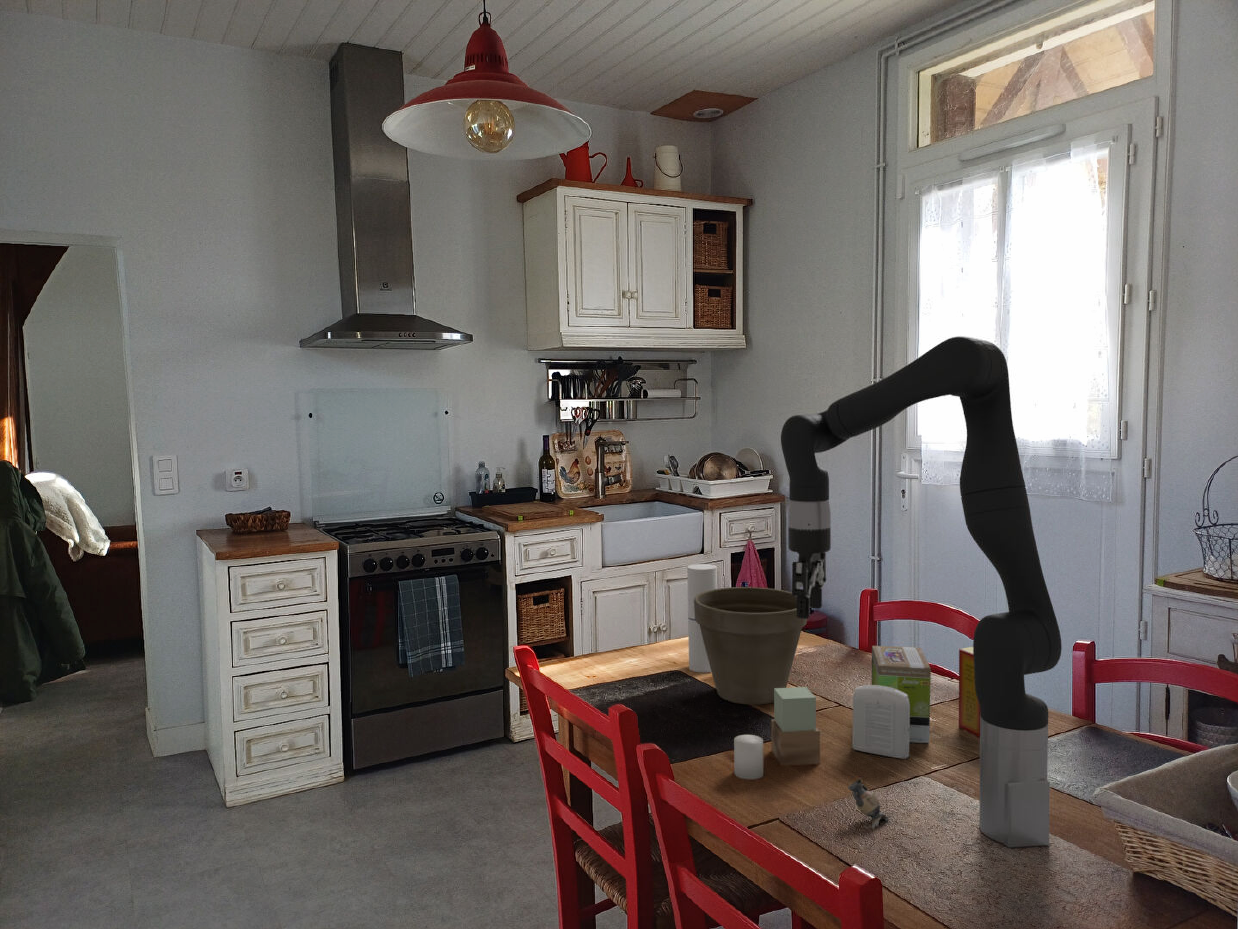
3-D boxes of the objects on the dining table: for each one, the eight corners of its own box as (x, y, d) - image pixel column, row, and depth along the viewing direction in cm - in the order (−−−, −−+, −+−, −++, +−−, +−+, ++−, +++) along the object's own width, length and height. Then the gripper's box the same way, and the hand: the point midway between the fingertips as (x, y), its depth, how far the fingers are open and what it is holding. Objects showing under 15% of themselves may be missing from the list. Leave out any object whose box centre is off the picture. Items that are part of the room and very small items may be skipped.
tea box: (931, 744, 168) (931, 667, 167) (876, 741, 170) (875, 665, 169) (921, 716, 183) (921, 645, 182) (870, 714, 185) (870, 643, 184)
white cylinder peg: (766, 778, 155) (766, 744, 154) (737, 780, 154) (737, 746, 154) (759, 767, 160) (759, 734, 159) (731, 768, 159) (731, 735, 159)
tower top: (815, 730, 161) (815, 697, 160) (783, 732, 160) (782, 699, 160) (806, 718, 167) (805, 686, 166) (774, 720, 166) (774, 688, 166)
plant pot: (831, 704, 192) (831, 603, 190) (729, 721, 183) (728, 616, 181) (770, 672, 215) (769, 582, 213) (676, 686, 206) (675, 592, 204)
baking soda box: (998, 721, 180) (999, 642, 178) (1022, 732, 173) (1023, 651, 172) (958, 727, 177) (959, 647, 176) (981, 738, 171) (981, 656, 170)
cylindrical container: (684, 665, 221) (682, 565, 220) (711, 662, 223) (709, 563, 222) (695, 673, 215) (694, 570, 213) (723, 670, 217) (721, 568, 215)
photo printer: (911, 753, 165) (912, 687, 164) (906, 761, 161) (907, 694, 160) (855, 743, 170) (855, 679, 169) (849, 751, 166) (849, 686, 165)
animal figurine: (840, 820, 139) (841, 782, 139) (858, 811, 143) (859, 774, 143) (872, 831, 135) (873, 791, 135) (889, 821, 139) (890, 783, 139)
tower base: (819, 763, 161) (819, 731, 160) (781, 766, 160) (781, 733, 160) (808, 749, 168) (808, 717, 167) (771, 751, 167) (771, 719, 167)
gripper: (819, 531, 155) (820, 624, 156) (839, 520, 167) (839, 606, 168) (777, 529, 158) (778, 620, 159) (799, 518, 171) (800, 603, 172)
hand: (809, 612), depth 164 cm, fingers open, 8 cm apart
